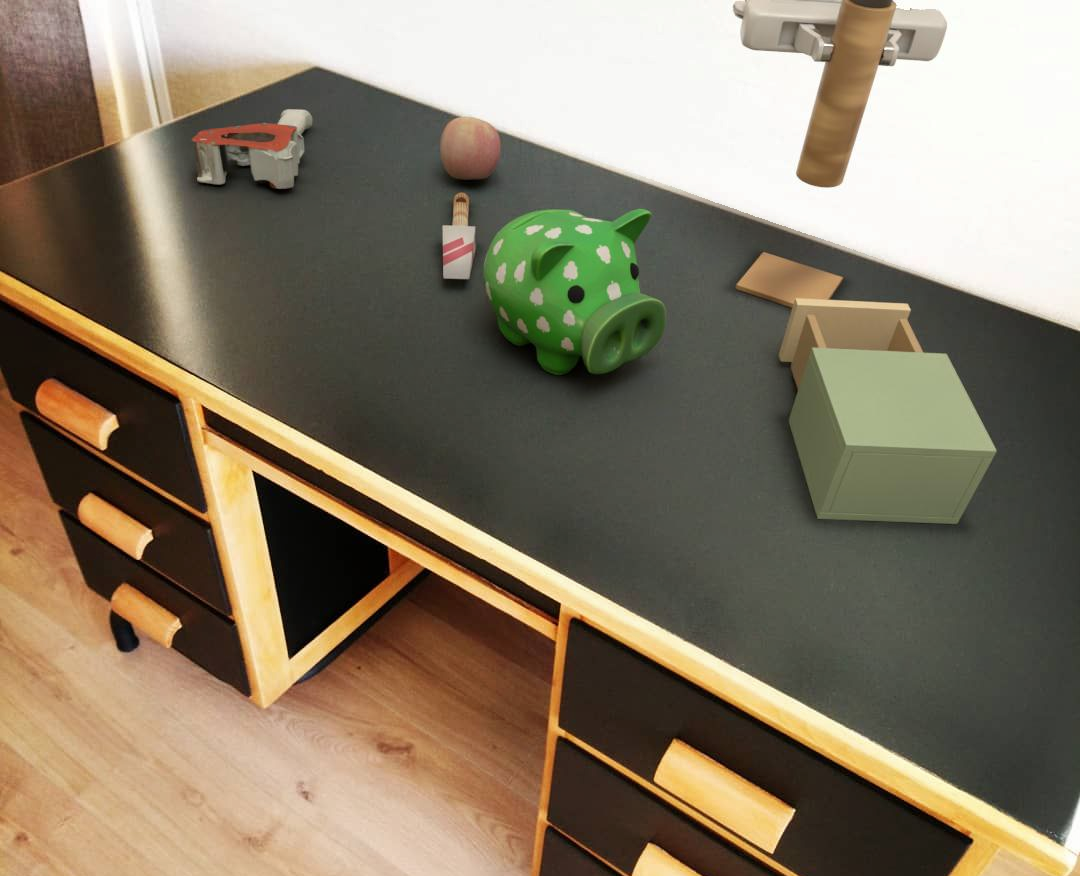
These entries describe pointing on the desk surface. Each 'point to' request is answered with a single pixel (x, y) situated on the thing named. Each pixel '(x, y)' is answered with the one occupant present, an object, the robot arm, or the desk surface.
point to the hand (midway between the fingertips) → (857, 55)
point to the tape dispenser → (254, 149)
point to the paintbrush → (458, 242)
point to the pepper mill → (844, 90)
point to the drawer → (844, 329)
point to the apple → (470, 148)
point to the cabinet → (888, 436)
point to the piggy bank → (573, 289)
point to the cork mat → (787, 281)
